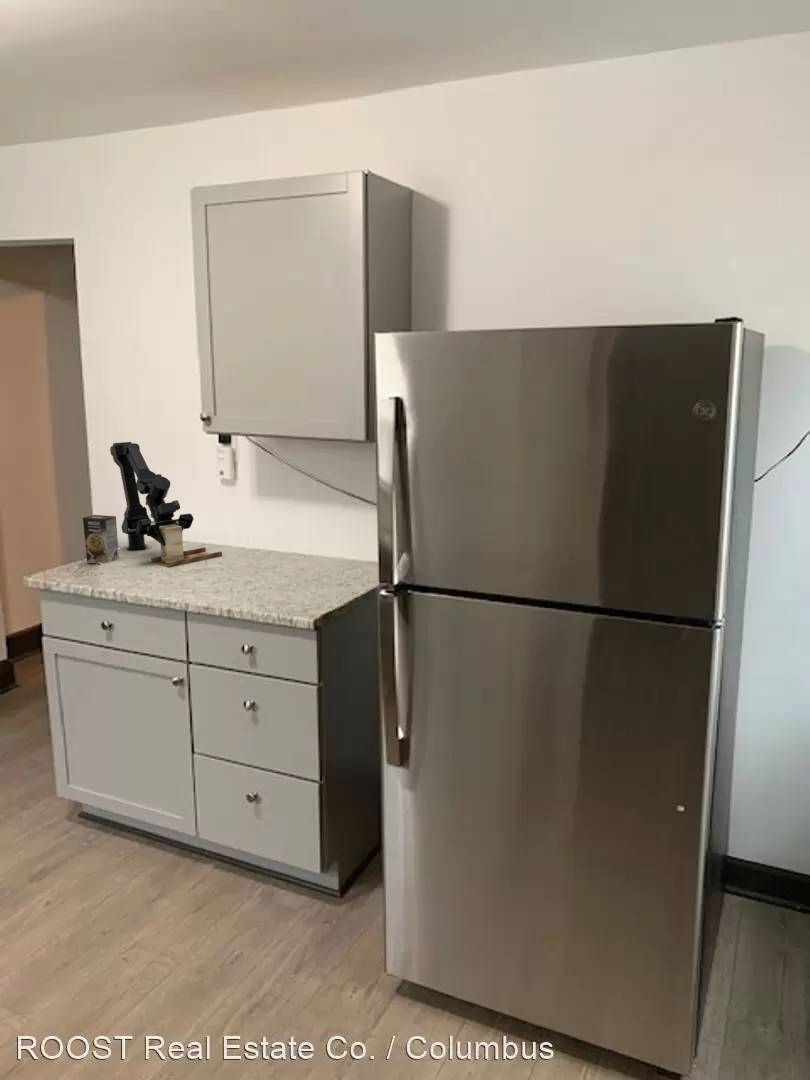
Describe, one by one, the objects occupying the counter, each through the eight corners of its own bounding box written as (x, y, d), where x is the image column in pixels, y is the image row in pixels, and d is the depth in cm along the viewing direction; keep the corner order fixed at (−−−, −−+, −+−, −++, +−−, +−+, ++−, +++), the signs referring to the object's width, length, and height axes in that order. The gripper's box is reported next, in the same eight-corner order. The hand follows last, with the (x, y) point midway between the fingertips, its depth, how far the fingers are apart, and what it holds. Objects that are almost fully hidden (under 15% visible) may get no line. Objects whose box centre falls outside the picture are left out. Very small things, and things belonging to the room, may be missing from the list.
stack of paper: (161, 560, 284) (158, 526, 281) (177, 558, 287) (174, 523, 284) (168, 564, 279) (165, 528, 277) (184, 561, 283) (181, 526, 280)
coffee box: (86, 563, 287) (81, 517, 283) (98, 559, 293) (93, 514, 289) (108, 565, 284) (104, 518, 281) (120, 561, 290) (116, 515, 287)
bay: (169, 570, 276) (168, 563, 276) (151, 565, 284) (150, 558, 283) (222, 558, 291) (222, 551, 291) (204, 554, 299) (203, 547, 298)
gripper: (136, 496, 276) (151, 534, 270) (189, 490, 287) (205, 526, 281) (129, 516, 283) (144, 553, 277) (181, 509, 295) (197, 545, 288)
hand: (173, 544), depth 281 cm, fingers closed on stack of paper, 5 cm apart
